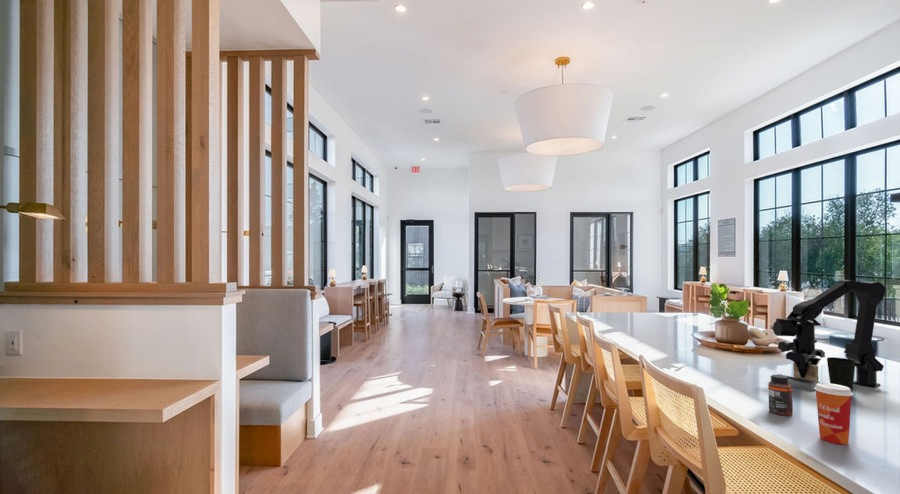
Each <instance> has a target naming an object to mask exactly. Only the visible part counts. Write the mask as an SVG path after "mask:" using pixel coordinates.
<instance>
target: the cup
mask: <svg viewBox="0 0 900 494" xmlns="http://www.w3.org/2000/svg"><path fill="white" fill-rule="evenodd" d="M826 362H827V369H828V377H829V383H831V384H837V385H842V386H846V387H848V388H850V389H851V392H852V393H853V389H854V383H853V382H854V381H855V373H856V366H855V361H854V360H850V359H847V358H846V357H831V356H830V357H826Z"/></svg>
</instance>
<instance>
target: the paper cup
mask: <svg viewBox="0 0 900 494" xmlns="http://www.w3.org/2000/svg"><path fill="white" fill-rule="evenodd" d="M814 389H815V390H814V391H815V397H816V408H817V422H818V431H819V438H820V439H821V440H822V441H824V442H826V443H830V444H834V445H839V446H840V445H841V446H846V445H848V444H849V440H850V439H849V438H850V426H851V409H852V407H851V406H852V396H854V393H853V391H852V392H851V389H850V388H848V387H846V386H842V385H837V384H831V383H830V382H828V383H827V382H826V383H825V382H820V384H819V383H817V384H816V387H815V388H814Z"/></svg>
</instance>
